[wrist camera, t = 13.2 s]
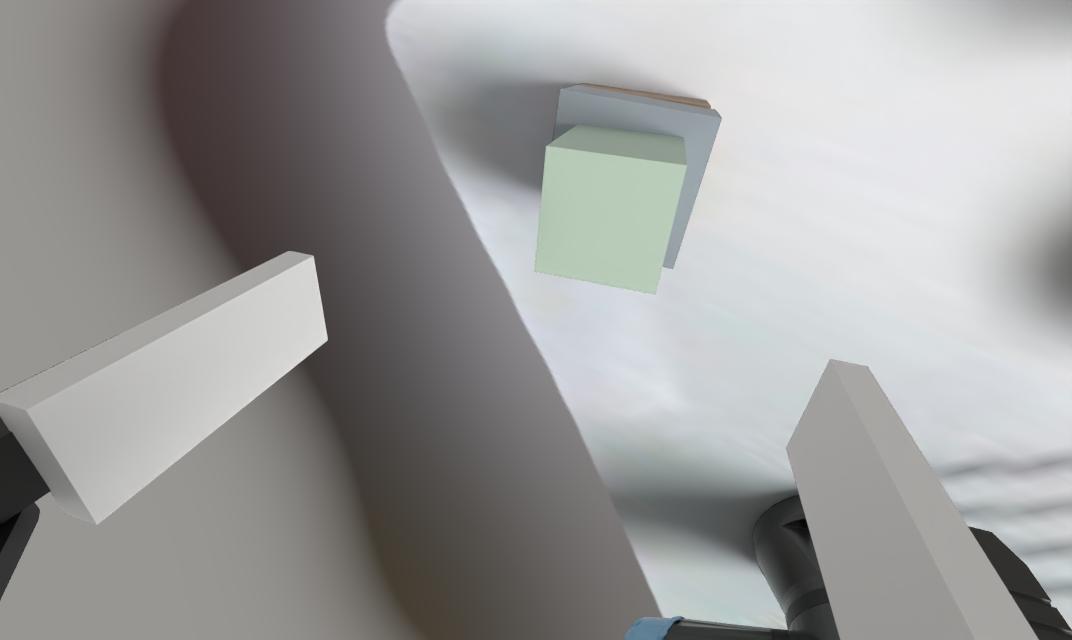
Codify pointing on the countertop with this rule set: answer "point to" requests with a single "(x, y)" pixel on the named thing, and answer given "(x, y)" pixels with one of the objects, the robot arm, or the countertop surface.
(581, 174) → the green block
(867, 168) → the countertop surface
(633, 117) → the tower top
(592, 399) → the countertop surface
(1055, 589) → the countertop surface
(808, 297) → the countertop surface
